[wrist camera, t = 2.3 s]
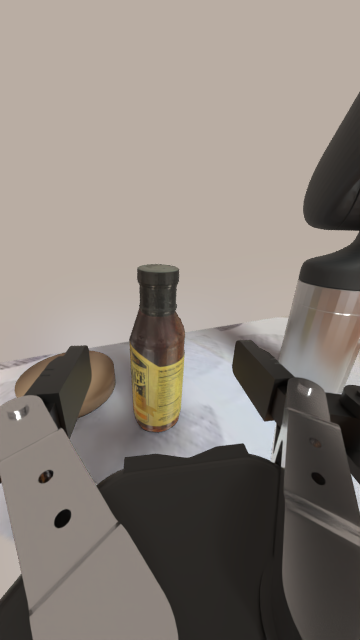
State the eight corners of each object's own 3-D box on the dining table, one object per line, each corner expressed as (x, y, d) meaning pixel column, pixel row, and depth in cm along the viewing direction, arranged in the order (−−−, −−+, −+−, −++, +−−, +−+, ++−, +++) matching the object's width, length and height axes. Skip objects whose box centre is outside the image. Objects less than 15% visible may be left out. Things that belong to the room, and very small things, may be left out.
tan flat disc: (119, 362, 39) (118, 348, 38) (108, 418, 27) (106, 400, 26) (45, 366, 37) (41, 352, 36) (-3, 429, 25) (-10, 410, 24)
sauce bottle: (133, 402, 30) (124, 261, 23) (175, 396, 32) (179, 262, 24) (135, 443, 24) (123, 271, 17) (186, 433, 26) (197, 271, 18)
